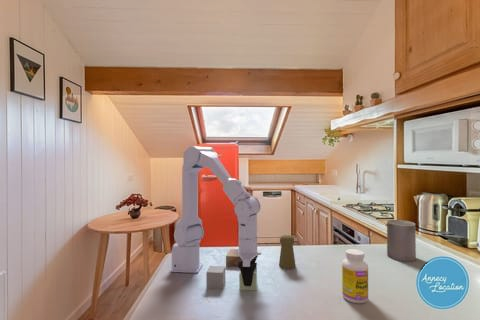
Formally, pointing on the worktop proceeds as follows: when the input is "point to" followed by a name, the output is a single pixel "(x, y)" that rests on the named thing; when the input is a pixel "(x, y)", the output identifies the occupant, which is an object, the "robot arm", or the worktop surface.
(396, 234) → the pillar candle
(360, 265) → the supplement bottle
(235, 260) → the walnut block
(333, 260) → the worktop surface
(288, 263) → the cork
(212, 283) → the grey cube
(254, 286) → the green cube
